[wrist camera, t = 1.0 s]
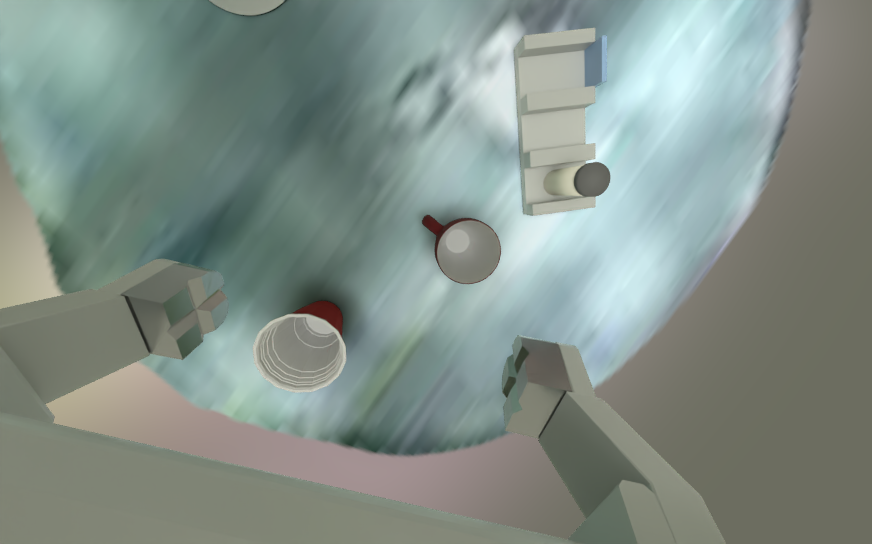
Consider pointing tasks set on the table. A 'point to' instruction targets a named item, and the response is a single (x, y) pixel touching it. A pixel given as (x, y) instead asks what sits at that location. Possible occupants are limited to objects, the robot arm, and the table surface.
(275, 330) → the plastic cup
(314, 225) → the table surface
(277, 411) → the table surface
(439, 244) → the mug
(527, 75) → the stepped cream block
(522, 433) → the robot arm
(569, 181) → the grey-capped cream cylinder
